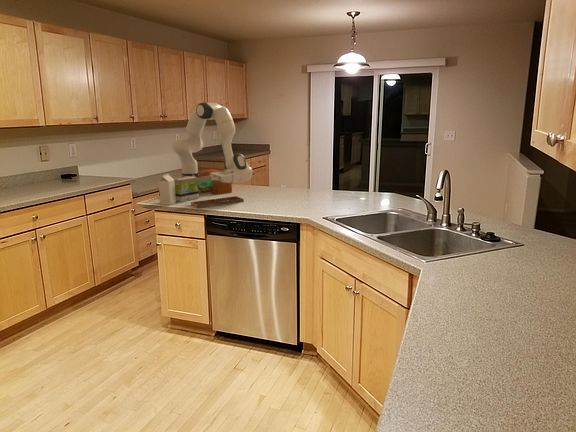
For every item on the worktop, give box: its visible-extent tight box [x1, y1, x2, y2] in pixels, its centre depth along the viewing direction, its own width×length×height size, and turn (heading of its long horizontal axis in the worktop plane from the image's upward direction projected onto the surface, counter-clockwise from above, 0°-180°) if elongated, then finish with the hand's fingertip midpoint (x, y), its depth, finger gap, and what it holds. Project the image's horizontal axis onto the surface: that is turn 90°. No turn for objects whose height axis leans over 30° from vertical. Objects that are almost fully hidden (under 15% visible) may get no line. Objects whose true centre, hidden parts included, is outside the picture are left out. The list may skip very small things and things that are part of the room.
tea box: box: [172, 176, 200, 203], centre depth 283 cm, size 15×10×15 cm
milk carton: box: [158, 173, 177, 206], centre depth 270 cm, size 7×7×19 cm
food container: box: [194, 174, 214, 194], centre depth 265 cm, size 12×6×10 cm, turn 106°
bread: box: [198, 168, 233, 195], centre depth 314 cm, size 14×33×16 cm, turn 38°
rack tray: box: [190, 195, 244, 209], centre depth 271 cm, size 11×31×2 cm, turn 123°
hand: (208, 178), depth 265 cm, fingers closed on food container, 5 cm apart
